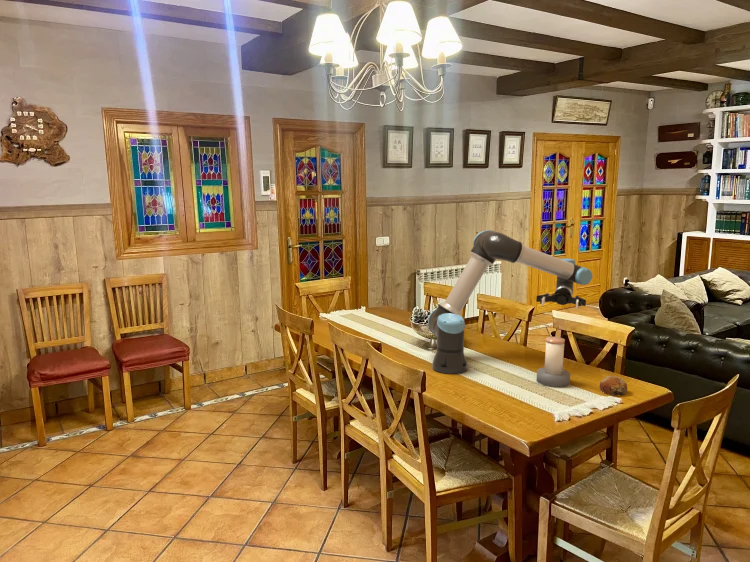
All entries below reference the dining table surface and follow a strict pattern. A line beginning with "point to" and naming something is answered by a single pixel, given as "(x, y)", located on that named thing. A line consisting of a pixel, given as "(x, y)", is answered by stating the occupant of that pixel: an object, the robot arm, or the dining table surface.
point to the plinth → (553, 378)
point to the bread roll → (613, 385)
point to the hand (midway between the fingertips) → (559, 304)
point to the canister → (554, 355)
